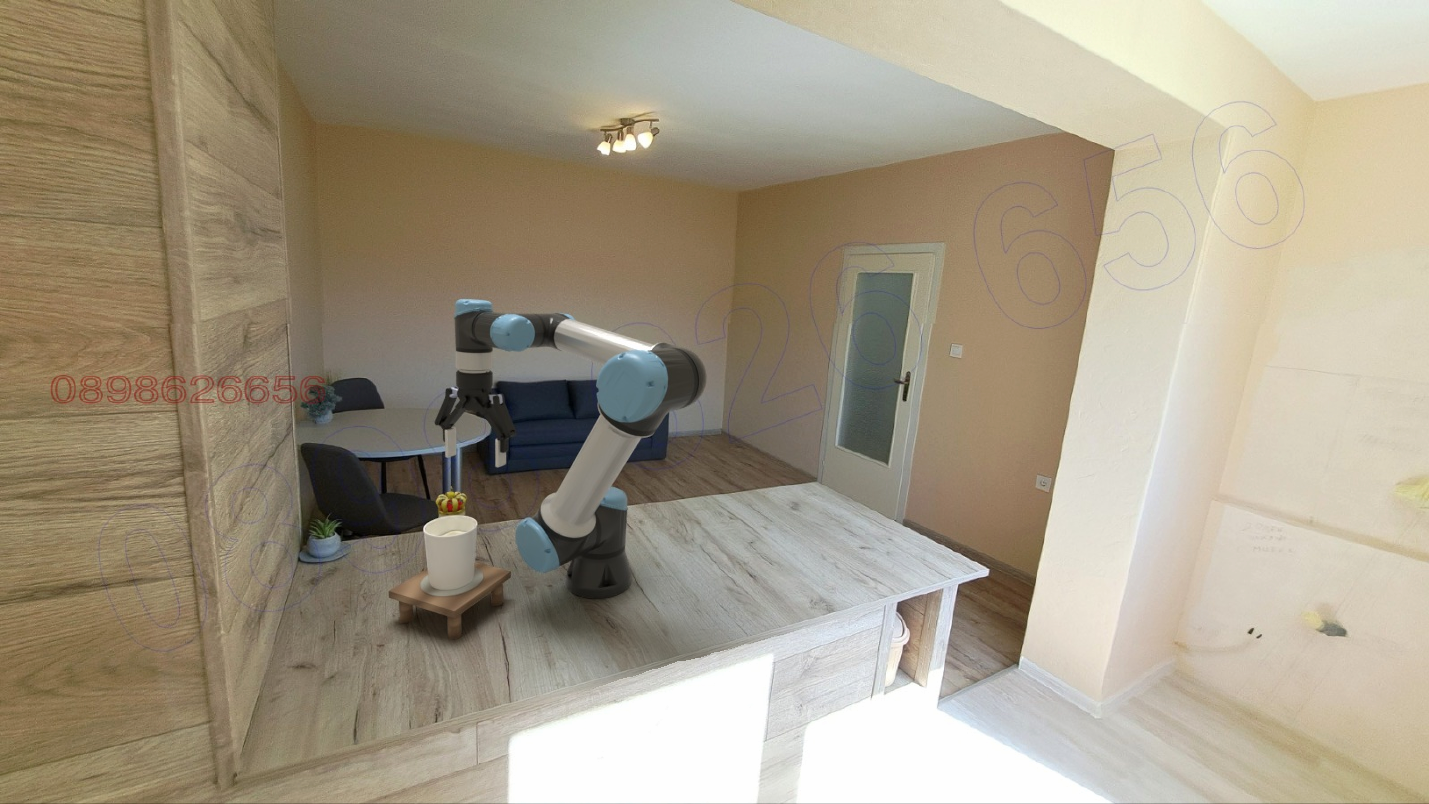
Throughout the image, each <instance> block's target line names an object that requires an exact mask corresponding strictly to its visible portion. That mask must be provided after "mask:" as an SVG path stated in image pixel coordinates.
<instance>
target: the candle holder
mask: <svg viewBox="0 0 1429 804" xmlns="http://www.w3.org/2000/svg"><path fill="white" fill-rule="evenodd" d="M422 531H423V537H424V546H425V547H424V548H425V555H426V565H427V568H426V569H428V577H429V583H430V585H431V586H432V587H433V588H435V589H439V590H452V589H457V588H460V587H463V586H465V585H467V584H469V583H470V582H471V581H472V580H473V578H474V571H475V562H476V550H477V533H478V521H477V520H476V519H475V518H473V517H471V516H468V515H465V516H461V515H454V516H445V517H441V518H439V517H438V518H435V519H433V520H430V521H429V522H427V523H426V524H425V525H424V526H423V529H422Z"/></svg>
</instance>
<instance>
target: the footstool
mask: <svg viewBox="0 0 1429 804" xmlns="http://www.w3.org/2000/svg"><path fill="white" fill-rule="evenodd" d="M510 579H512V571H511V570H507V569H505V568H501V567H500V568H499V567H497V566H493V565H488V564H485V563H482V562H478V561H475V571H474V578H473V580H472V581H471V582H470V583H469V584H467V585H465V586H463V587H460V588H457V589H452V590H439V589H435V588H433V587H432V586H431V585H430V583H429V577H428V568H426V569H424V570H423V571H420V572H419V573H417V574H415V575H413V576H412V577H411V578H409V579H406V580H405V581H402V583H399V584H398V585H396V586H395V587H393V588H391V589H390V590H388V598H389V599H391V600H394V601H397V602H398V610H399V611H398V612H399V614H398V616H399V623H401V624H408V623H410V622H412V621H413V620H414V606H415V607H418V608H421V609H424V610H427V611H429V612H434V613H437V614H439V615H443V616H446V617H447V618H446V619H447V620H446V621H447V622H446V623H447V638H448V639H449V640H456V639H459V638H461V636H462V614H463V613H464V612H466V611H467V610H468V609H470V608H471V607H472V606H474V605H475V604H477V603H478V602H479V601H481V600H482V599H483V598H485V597H486V596H488V595H489V594H490V604H491V606H493V607H499V606H501V605H503V603H504V583H505V582H507V581H508V580H510Z"/></svg>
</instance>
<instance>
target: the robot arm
mask: <svg viewBox="0 0 1429 804" xmlns="http://www.w3.org/2000/svg"><path fill="white" fill-rule="evenodd" d="M454 307H455V309H454V316H453V319H454V337H455V338H454V339H455V340H454V343H455V344H454V345H455V368H456V369H457V370H456V371H455V385H456V386H451V387H447V388H445V393H444V394H445V395H444V398H443V401H442V403H441V407H440V409H439V411H438V413H437V414H436V417H435V420H434V425H435V426H439V427H440V428H441V430H442V441H443V442H444V448H445V449H444V450H445V454H444V457H445V458H447V459H449V458H451V457H454V456H456V455H458V454H457V451H458V450H457V427H455V424H456V423H457V422H458V420H459V419H460V418H461V417H462V416H463V414H464V413H465V412H466V411H467V412H468V411H469V412H470V411H472V412H475V413H479V414H480V415H482V416H483V417H484V418H485V419H486V421H487V422H488V424H489V426H490V427H491V429H492V430H493V432H494V433H495V434H496V436H497V437H498V438H495V444H494V445H495V450H494V451H495V452H494V453H495V468H500V467H503V466H505V465H506V464H507V452H509V451H510V450H509V447H510V443H509V440H510V438H512V437H515V436H517V434H518V432H517V430H516V427H515V425H514V422H513V419H512V417H511V415H510V412H509V410H508V408H507V405H506V400H505V395H504V394H503V393H499V394H493V393H492V388H493V385H494V383H493V381H494V374H493V371H492V369H493V367H494V366H493V364H494V363H493V361H494V360H493V348H494V349H497V350H498V349H499V350H501V351H505V352H518V353H519V352H524V351H526V350H527V349H532V348H552V349H553V350H557V351H560V352H563V353H565V354H569V355H572V356H574V357H577V358H579V359H582V360H583V359H584V360H586V361H588V362H591V363H595V364H597V365H600V366H602V367H601V369H600V371H599V373H598V375H597V379H596V389H598V392H596V398H597V409H598V412H599V414H600V415H599V416H598V418H597V420H596V422H595V424H594V425H593V427H592V429H591V430H590V432H589V434H588V435H587V438H586V440H585V441H584V443H583V444H582V447H581V449H580V451H579V452H578V454H577V456H576V458H575V460H574V461H573V463H572V465H571V466H570V468H569V470H568V472H567V473H566V475H565V477H564V479H563V481H562V482H561V484H560V486H559V488H558V489H557V491H556V492H553V493H550V494H549V495H547V496H546V497H545V498H544V499H543V500H542V502H541V504H540V506H539V508H538V509H537V511H536V513H535V514H534V515H532V516H530V517H529V516H528V517H525V518H524V519H522V520H521V521H519V522H518V524H517V525H516V527H515V532H514V540H515V544H516V547H517V548H516V549H517V551H518V553H519V555H520V557H521V558H522V560H523V562H524V563H525V564H526V565H527V567H529V568H530V569H531V570H533V571H534V572H535V573H536V572H537V573H539V574H546V573H549V572H551V571H552V572H553V571H554V570H558V569H559V567H562V566H564V565H566V564H567V563H569V565H568V568H567V570H566V575H565V584H566V589H568V590H569V591H570V592H571V593H572V594H574V595H577V596H578V597H581V598H587V599H605V598H606V599H607V598H611V597H615V596H617V595H619V594H622V593H623V592H625V591H626V590H627V589H628V588H629V587H630V585H631V583H632V569H631V565H630V562H629V559H628V555H627V552H626V543H627V541H626V538H627V522H628V521H627V520H628V510H629V507H628V496H627V494H626V493H625V491H624V490H622V489H620V488H617V487H614V486H613V484H614V482H615V481H616V479H617V478H618V476H619V474H620V473H621V471H622V470H623V467H624V466H625V465H626V463H627V461H628V460H629V458H630V457H631V455H632V453H633V452H634V451H635V449H636V448H637V445H638V444H639V443H640V441H641V440H642V439H644V438H648V437H651V436H653V435H654V434H655V432H656V431H657V429H659V426H660V425H661V423H662V422H663V420H664V419H665V417H666V415H668V413H670V412H674V411H677V410H682V409H685V408H687V407H689V406H691V405H693V404H695V403H696V402H697V401H698V400H699V399H700V397H701V396H702V395H703V393H704V391H705V388H706V385H707V381H708V379H707V378H708V377H707V370H706V367H705V363H704V362H703V360H702V359H701V358H700V356H699V355H698V354H697V353H695V352H694V351H692V350H690V349H688V348H686V347H682V346H677V345H673V344H670V343H667V342H662V341H661V342H657V343H655V344H652V343H649V342H646V341H644V340H640V339H636V338H633V337H629V336H627V335H623V334H621V333H617V332H613V331H609V330H607V329H603V328H600V327H599V326H598V327H597V326H595V325H592V324H587V323H584V322H581V321H579V320H578V321H577V320H576V319H575V318H574V317H573V316H572V315H571V314H568V313H561V312H553V313H552V312H551V313H527V312H526V313H515V312H513V313H512V312H511V313H508V312H507V313H504V312H497V311H494V309H493V303H492V302H491V301H489V300H484V299H473V298H472V299H470V298H469V299H467V298H460V299H458V300H456V302H455V306H454ZM458 399H459V401H458V402H457V403H456V401H457V400H458ZM453 408H454V409H453Z"/></svg>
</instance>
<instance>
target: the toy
mask: <svg viewBox="0 0 1429 804" xmlns="http://www.w3.org/2000/svg"><path fill="white" fill-rule="evenodd" d="M450 489H451V490H454V488H453V486H450ZM467 499H468V497H467V495H466V494H465V493H461V492H459V491H455V492H454V491H447V492H445V494H444V493H443V494H440V495H438V496H437V498H436V500H435V504H436V506H437V508H438V509H437V514H438V518H441V517H445V516H454V515H461V516H466V506H465V505H466V502H467ZM461 500H462V501H461Z"/></svg>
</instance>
